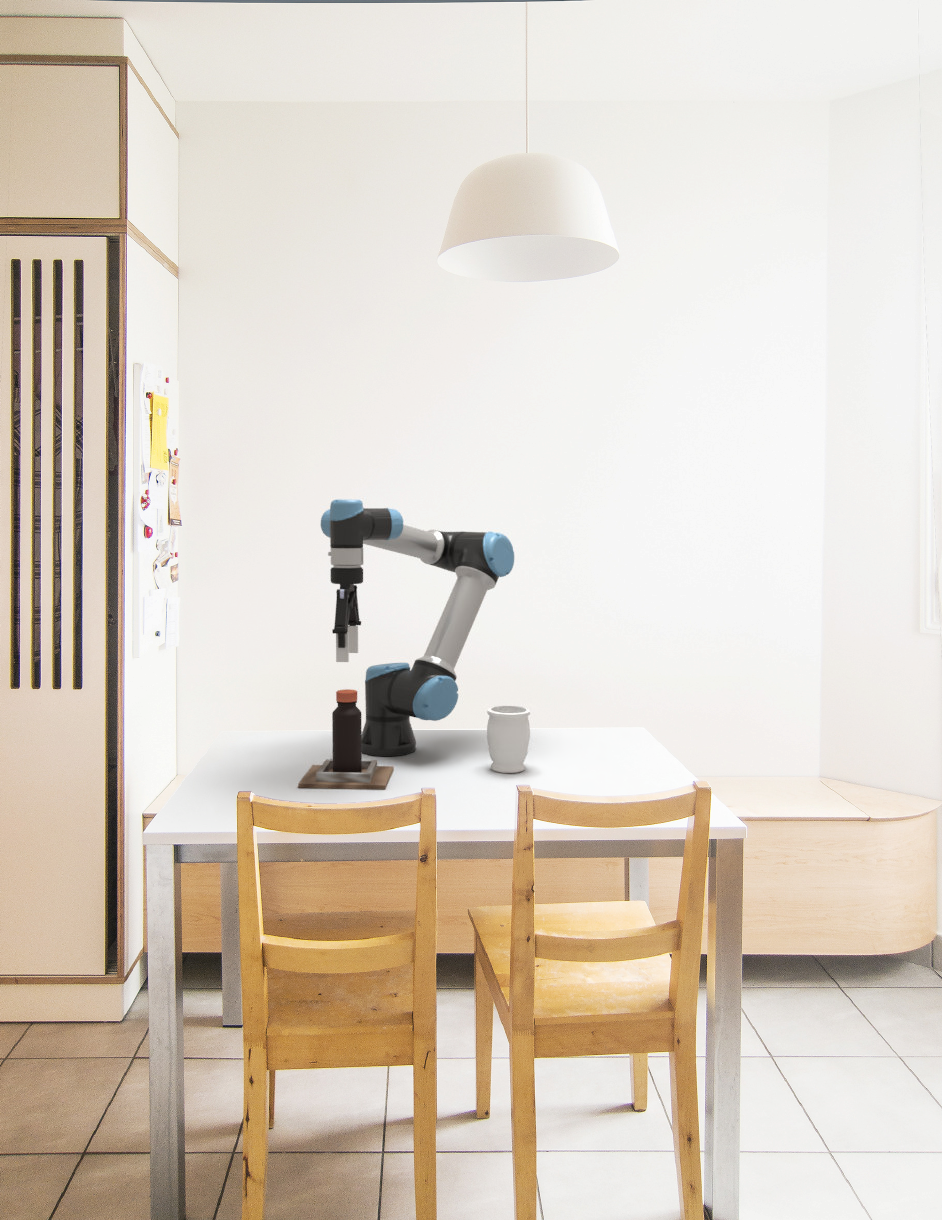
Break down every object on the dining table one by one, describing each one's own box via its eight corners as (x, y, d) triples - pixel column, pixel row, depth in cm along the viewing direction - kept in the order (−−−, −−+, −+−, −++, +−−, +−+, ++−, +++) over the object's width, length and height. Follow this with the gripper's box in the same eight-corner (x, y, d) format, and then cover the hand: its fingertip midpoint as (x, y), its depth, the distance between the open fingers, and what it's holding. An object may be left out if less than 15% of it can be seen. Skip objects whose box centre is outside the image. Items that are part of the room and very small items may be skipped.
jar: (534, 766, 231) (535, 707, 230) (522, 776, 222) (523, 715, 220) (493, 761, 235) (494, 703, 233) (480, 772, 225) (481, 711, 224)
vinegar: (361, 778, 216) (360, 693, 214) (331, 778, 215) (331, 694, 213) (362, 770, 222) (361, 688, 220) (333, 770, 222) (333, 688, 220)
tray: (393, 770, 226) (393, 758, 226) (385, 789, 210) (385, 776, 210) (312, 768, 227) (312, 756, 227) (298, 787, 211) (298, 775, 211)
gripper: (340, 563, 226) (341, 649, 228) (320, 569, 201) (321, 665, 204) (370, 563, 226) (371, 649, 228) (354, 569, 201) (354, 666, 203)
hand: (347, 657), depth 216 cm, fingers open, 13 cm apart
